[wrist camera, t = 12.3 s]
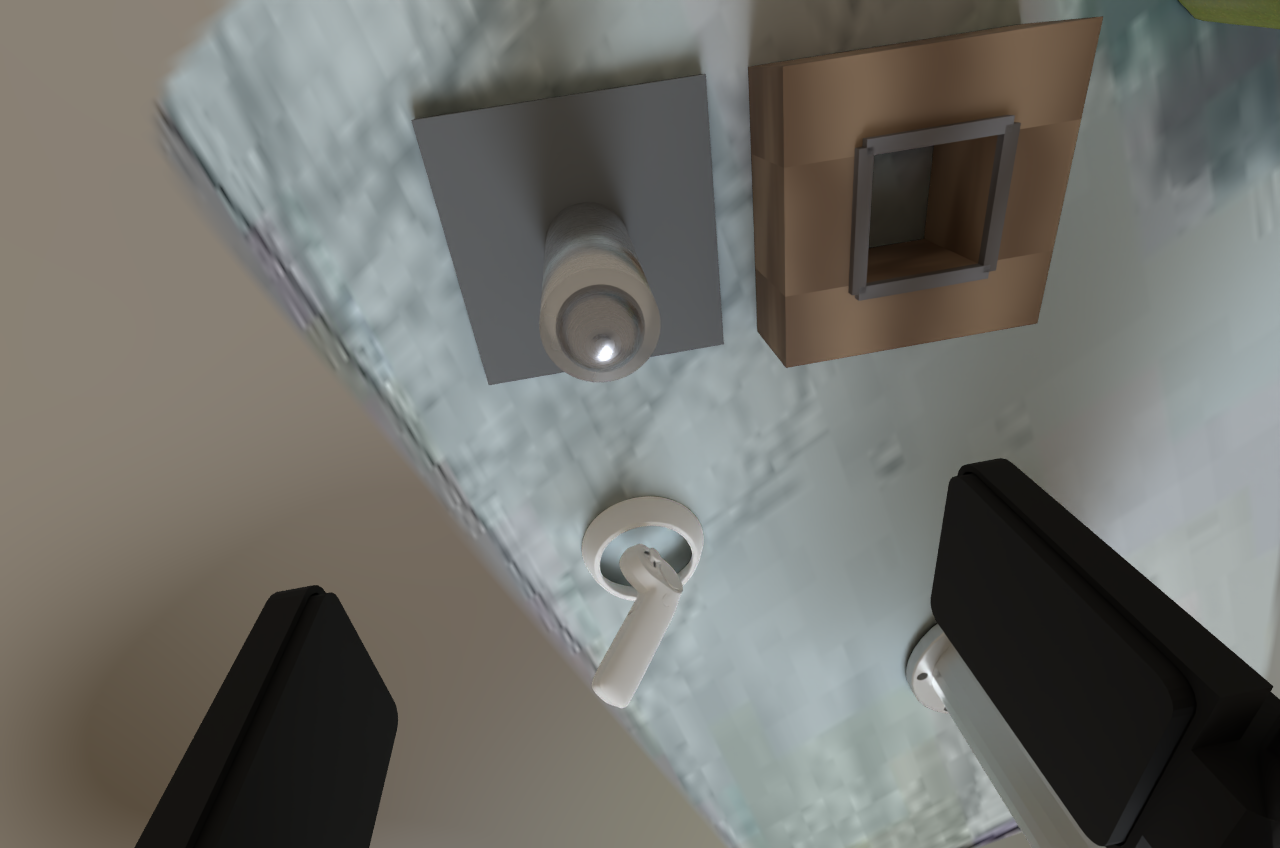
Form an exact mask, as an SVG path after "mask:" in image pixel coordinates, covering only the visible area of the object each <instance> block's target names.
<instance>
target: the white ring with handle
mask: <svg viewBox="0 0 1280 848" xmlns="http://www.w3.org/2000/svg"><path fill="white" fill-rule="evenodd" d="M642 526H661V527H666V528H669V529H671V530H674V531H676V532H677V533H679V534H680V535H682V536H683V537H684V538H685V539H686V540H687V542H688V544H689V545H690V548H691V551H692V557H691V560H690V562H689V563H688V564H687V566H686V567H685V568H684V569H682V570H681V571H680V572H679V573H678V574H677V573H676V572H675V570H674V569H673V568H672V567H671V566H670V565H669V564H668V563H667V562H666V561H665V560H663V559H662V558H661V556H660V554H659V553H658V551H657V550H655V549H654V548H650V549H649V548H648V547H646V546H645V545H643V544H637V545H635V546H632V547H630V548H628V549H627V550H626V551H625V552H624V553H623V555H622V557H621V559H620V562H619V565H620V568H621V571H622V573H623V575H624V577H625V578H626V579H627V581H628V582H629V583H630V584H631V585H632V586H625V585H620V584H617V583H614V582H611V581H610V580H608V579H606V578H605V577H604V576H603V575H602V574H601V571H600V560H601V556H602V554H603V551H604V550H605V548H606V547H607V545H608V544H609V543H610V542H611V541H612V540H613V539H614V538H616V537H617V536H619V535H620V534H622V533H624V532H626V531H628V530H630V529H634V528H637V527H642ZM702 549H703V531H702V527H701V524H700V522H699V521H698V519H697V517H696V516H695V515H694V514H693V513H692V512H691V511H690V510H689V509H688V508H686V507H685V506H684V505H682V504H680V503H678V502H676V501H673V500H671V499H666V498H662V497H651V496H645V497H636V498H631V499H628V500H624V501H621V502H619V503H617V504H615V505H612V506H610V507H609V508H607V509H606V510H604V511H603V512H602V513H600V514H599V515H598V516H597V517H596V518H595V519H594V520H593V521H592V523H591V524H590V526H589V527H588V529H587V530H586V533H585V535H584V538H583V542H582V556H583V560H584V563H585V565H586V567H587V569H588V571H589V572H590V574H591V575H592V576H593V578H594V579H595V580H596V582H597V583H598V584H599V585H601V586H602V587H603V588H604V589H605V590H606V591H608V592H609V593H611V594H613V595H614V596H616V597H619V598H622V599H626V600H632V601H635V602H634V604H633V606H632V608H631V610H630V611H629V613H628V615H627V617H626V619H625V620H624V622H623V624H622V626H621V628H620V630H619V631H618V633H617V635H616V637H615V639H614V640H613V642H612V644H611V646H610V648H609V649H608V651H607V653H606V655H605V657H604V658H603V660H602V662H601V664H600V666H599V668H598V670H597V672H596V674H595V676H594V678H593V681H592V688H593V690H594V692H595V693H596V694H597V695H598V696H599V697H600V698H601V699H602V700H603V701H604V702H606V703H608V704H610V705H613V706H616V707H619V708H625V707H626V706H627V705H628V704H629V702H630V701H631V699H632V697H633V695H634V693H635V691H636V690H637V688H638V686H639V684H640V682H641V680H642V678H643V676H644V674H645V672H646V670H647V668H648V666H649V664H650V662H651V660H652V658H653V656H654V654H655V652H656V650H657V648H658V646H659V644H660V642H661V640H662V638H663V636H664V634H665V632H666V630H667V628H668V626H669V624H670V622H671V620H672V618H673V616H674V614H675V611H676V608H677V605H678V601H679V598H680V596H681V594H682V591H683V587H682V586H683V585H684V584H685V583H686V582H687V581H688V580H689V579H690V578H691V576H692V575H693V573H694V571H695V569H696V567H697V565H698V563H699V561H700V557H701V553H702Z"/></svg>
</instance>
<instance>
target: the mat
mask: <svg viewBox="0 0 1280 848" xmlns="http://www.w3.org/2000/svg"><path fill="white" fill-rule="evenodd" d="M412 124H413V127H414V131H415V134H416V137H417V141H418V144H419V148H420V151H421V154H422V158H423V161H424V165H425V168H426V172H427V175H428V178H429V182H430V185H431V189H432V192H433V196H434V199H435V202H436V206H437V209H438V213H439V216H440V220H441V223H442V226H443V230H444V233H445V237H446V240H447V243H448V247H449V250H450V254H451V257H452V261H453V264H454V267H455V271H456V274H457V278H458V281H459V285H460V288H461V291H462V295H463V298H464V302H465V305H466V309H467V312H468V315H469V319H470V322H471V326H472V329H473V333H474V336H475V339H476V343H477V346H478V350H479V353H480V356H481V360H482V363H483V367H484V370H485V374H486V377H487V380H488V384H489V385H493V384H499V383H504V382H510V381H516V380H521V379H527V378H533V377H539V376H544V375H550V374H556V373H561V372H564V371H563V370H561V369H560V368H559V367H558V366H557V365H556V364H555V363H554V362H553V361H552V360H551V359H550V357H549V356H548V354H547V353H546V351H545V349H544V346H543V344H542V341H541V337H540V331H539V321H540V308H541V295H542V283H543V270H544V257H545V244H546V236H547V232H548V229H549V226H550V224H551V223H552V221H553V220H554V218H555V217H556V216H557V215H558V214H559V213H560V212H561V211H562V210H564V209H565V208H567V207H569V206H571V205H574V204H577V203H583V202H592V203H597V204H600V205H603V206H605V207H607V208H609V209H611V210H612V211H613V212H615V213H616V214H617V215H618V216H619V217H620V219H621V220H622V221H623V223H624V225H625V227H626V229H627V231H628V234H629V236H630V239H631V241H632V244H633V246H634V249H635V251H636V254H637V256H638V259H639V261H640V264H641V266H642V269H643V271H644V274H645V276H646V279H647V281H648V284H649V286H650V289H651V291H652V294H653V296H654V299H655V301H656V304H657V307H658V310H659V314H660V324H661V326H660V335H659V339H658V342H657V345H656V347H655V349H654V351H653V353H652V354H651V356H650V357H653V356H659V355H664V354H670V353H676V352H681V351H687V350H693V349H699V348H704V347H710V346H716V345H721V344H724V341H723V326H722V311H721V296H720V281H719V266H718V251H717V236H716V221H715V207H714V192H713V177H712V162H711V147H710V132H709V117H708V102H707V87H706V74H700V75H693V76H687V77H681V78H674V79H668V80H661V81H655V82H649V83H642V84H636V85H630V86H623V87H617V88H610V89H604V90H598V91H591V92H585V93H578V94H572V95H566V96H559V97H553V98H546V99H540V100H534V101H527V102H521V103H514V104H508V105H502V106H495V107H489V108H483V109H476V110H470V111H463V112H457V113H451V114H444V115H438V116H431V117H425V118H419V119H414V120H412Z"/></svg>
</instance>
